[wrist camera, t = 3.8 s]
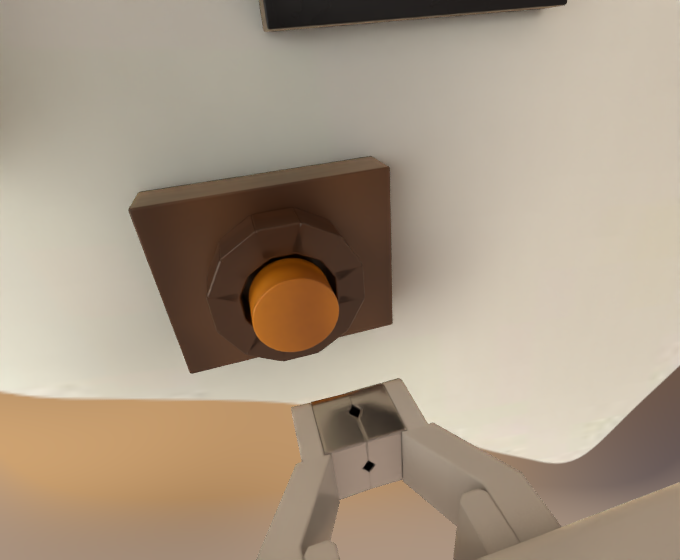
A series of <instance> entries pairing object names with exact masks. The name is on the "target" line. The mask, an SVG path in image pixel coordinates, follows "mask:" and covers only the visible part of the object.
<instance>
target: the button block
mask: <svg viewBox="0 0 680 560" xmlns="http://www.w3.org/2000/svg"><path fill="white" fill-rule="evenodd" d="M128 211H129V214H130V216H131V219H132V222H133V224H134V227H135V229H136V232H137V235H138V237H139V240H140V243H141V245H142V248H143V250H144V253H145V256H146V258H147V261H148V264H149V266H150V269H151V272H152V274H153V277H154V279H155V282H156V285H157V287H158V290H159V293H160V295H161V298H162V300H163V303H164V306H165V308H166V311H167V314H168V316H169V319H170V321H171V324H172V327H173V329H174V332H175V335H176V337H177V340H178V343H179V345H180V348H181V350H182V353H183V356H184V358H185V361H186V364H187V366H188V369H189V371H190V373H191V374H192V373H196V372H201V371H205V370H209V369H213V368H217V367H221V366H225V365H229V364H233V363H237V362H241V361H245V360H249V359H253V358H257V357H260V358H266V359H272V360H278V361H287V360H291V359H295V358H299V357H303V356H307V355H311V354H315V353H319V351H321V350H323V349H324V348H325V347H327V346H328V345H329V344H331V343H332V342H333V341H335V340H336V339H337V338H339V337H342V336H346V335H350V334H354V333H358V332H362V331H366V330H370V329H374V328H379V327H383V326H387V325H391V324H392V323H393V322H392V265H391V209H390V168H389V166H387V165H385V164H384V163H382V162H380V161H379V160H377V159H375V158H373V157H371V156H369V157H363V158H357V159H350V160H344V161H337V162H331V163H324V164H318V165H311V166H305V167H298V168H292V169H286V170H279V171H273V172H266V173H260V174H253V175H247V176H240V177H234V178H228V179H221V180H215V181H208V182H202V183H195V184H189V185H182V186H176V187H169V188H163V189H157V190H150V191H144V192H139V193H138V194H137V196H136V197H135V199H134V201H133V202H132V204H131V206H130V208H129V210H128ZM285 258H300V259H304V260H307V261H310V262H311V263H313V264H315V265H316V266H318V267H319V268H320V269H321V271H322V272H323V273H324V275H325V277H326V279H327V281H328V282H329V284H330V286H331V288H332V290H333V292H334V294H335V296H336V298H337V301H338V305H339V316H338V320H337V323H336V325H335V327H334V329H333V330H332V332H331V333H330V334H329V335H328V336H327V338H325V339H324V340H323V341H322V342H320V343H319V344H317V345H315V346H314V347H311V348H309V349H306V350H303V351H298V352H283V351H278V350H275V349H272V348H270V347H268V346H267V345H265V344H264V343H263V342H262V341H261V340H260V339H259V338H258V337H257V335H256V333H255V331H254V328H253V324H252V318H251V311H250V304H249V289H250V286H251V283H252V281H253V279H254V278H255V276H256V275H257V274H258V273H259V271H261V270H262V269H263V268H264V267H265V266H267V265H268V264H270V263H272V262H274V261H277V260H280V259H285Z"/></svg>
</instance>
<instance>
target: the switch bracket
mask: <svg viewBox="0 0 680 560" xmlns="http://www.w3.org/2000/svg"><path fill="white" fill-rule="evenodd" d="M566 3H567V0H259V5H260V12H261V18H262V25H263V30H264V32H271V31H283V30H295V29H307V28H319V27H330V26H342V25H354V24H366V23H378V22H390V21H402V20H414V19H426V18H438V17H450V16H461V15H473V14H485V13H497V12H509V11H521V10H533V9H544V8H550V7H556V6H563V5H566Z"/></svg>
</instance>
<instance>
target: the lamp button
mask: <svg viewBox="0 0 680 560" xmlns="http://www.w3.org/2000/svg"><path fill="white" fill-rule="evenodd" d="M249 304H250V311H251V318H252V324H253V328H254V331H255V333H256V335H257V337H258V338H259V339H260V340H261V341H262V342H263V343H264V344H265V345H267V346H268V347H270V348H272V349H275V350H278V351H283V352H298V351H303V350H306V349H309V348H311V347H314V346H315V345H317V344H319V343H320V342H322V341H323V340H324V339H325V338H327V336H328V335H329V334H330V333H331V332H332V330H333V329H334V327H335V325H336V323H337V320H338V316H339V305H338V301H337V298H336V296H335V294H334V292H333V290H332V288H331V286H330V284H329V282H328V281H327V279H326V277H325V275H324V273H323V272H322V271H321V269H320V268H319V267H318V266H316V265H315V264H313V263H311V262H310V261H307V260H304V259H300V258H285V259H280V260H277V261H274V262H272V263H270V264H268V265H267V266H265V267H264V268H263V269H262V270H261V271H259V273H258V274H257V275H256V276H255V278H254V279H253V281H252V283H251V286H250V289H249Z"/></svg>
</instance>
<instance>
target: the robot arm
mask: <svg viewBox="0 0 680 560" xmlns="http://www.w3.org/2000/svg"><path fill="white" fill-rule="evenodd" d="M292 416H293V421H294V426H295V430H296V436H297V441H298V445H299V450H300V455H301V460H302V462H301V463H298V464H296V466H295V468H294V471H293V473H292V475H291V478H290V480H289V483H288V485H287V487H286V490H285V492H284V495H283V497H282V499H281V502H280V505H279V507H278V509H277V511H276V514H275V516H274V518H273V521H272V523H271V526H270V528H269V530H268V533H267V535H266V538H265V540H264V542H263V545H262V547H261V550H260V552H259V555H258V557H257V559H256V560H340V558H339V554H338V550H337V546H336V544H335V543H333V542H331V541H330V540H331V536H332V532H333V528H334V524H335V519H336V515H337V511H338V507H339V503H340V502H339V500H341V499H344V498H347V497H349V496H352V495H355V494H358V493H360V492H363V491H366V490H369V489H372V488H375V487H379V486H382V485H386V484H389V483H392V482H396V481H399V480H403V482H404V483H406V484H407V485H408V486H409V487H410V488H412V489H413V490H414V491H415V492H416V493H418V494H419V495H420V496H421V497H422V498H424V499H425V500H426V501H427V502H428V503H430V504H431V505H432V506H433V507H434V508H436V509H437V510H438V511H439V512H440V513H442V514H443V515H444V516H445V517H446V518H448V519H449V520H450V521H451V522H452V523H453V524H455V525H456V526H457V531H456V539H455V548H454V558H453V559H454V560H680V482H679V483H677V484H674V485H671V486H669V487H666V488H664V489H661V490H658V491H655V492H653V493H650V494H647V495H645V496H642V497H640V498H637V499H634V500H632V501H629V502H626V503H624V504H621V505H618V506H616V507H613V508H611V509H608V510H605V511H603V512H600V513H598V514H595V515H592V516H589V517H587V518H584V519H582V520H579V521H577V522H574V523H571V524H569V525H566V526H563V527H561V525H560V524H559V523H558V521H557V520H556V518H555V517H554V516H553V514H552V513H551V512H550V510H549V509H548V508H547V506H546V505H545V504H544V503H543V501H542V500H541V498H540V497H539V496H538V494H537V493H536V491H535V490H534V489H533V487H532V486H531V485H530V483H529V482H528V481H527V479H526V478H525V477H524V475H523V474H522V473H521V472H520V471H518V470H516V469H515V468H513V467H511V466H509V465H507V464H506V463H504V462H502V461H500V460H498V459H497V458H495V457H493V456H492V455H490V454H488V453H486V452H484V451H483V450H481V449H479V448H477V447H476V446H474V445H472V444H470V443H468V442H467V441H465V440H463V439H461V438H460V437H458V436H456V435H454V434H453V433H451V432H449V431H447V430H445V429H444V428H442V427H440V426H438V425H437V424H435V423H430V424H428V423H427V422H426V420H425V418H424V416H423V415H422V413H421V411H420V410H419V408H418V406H417V404H416V403H415V401H414V399H413V398H412V396H411V394H410V393H409V391H408V389H407V387H406V386H405V384H404V382H403V381H402V380H401V379H400V378H397V379H394V380H390V381H387V382H383V383H382V384H381V383H379V384H376V385H372V386H369V387H365V388H362V389H358V390H355V391H351V392H348V393H346V394H342V395H338V396H334V397H330V398H326V399H322V400H318V401H314V402H311V404H310V403H307V404H303V405H299V406H295V407H292Z"/></svg>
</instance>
